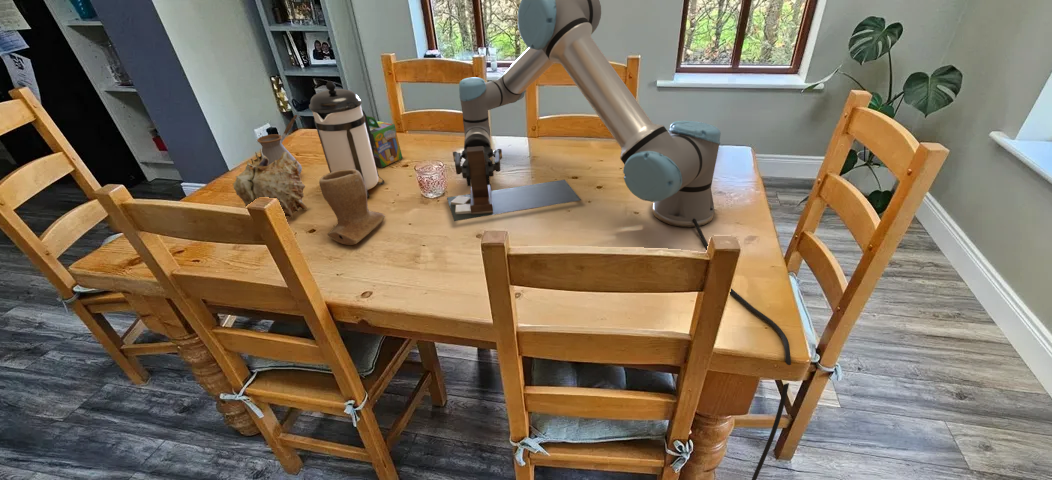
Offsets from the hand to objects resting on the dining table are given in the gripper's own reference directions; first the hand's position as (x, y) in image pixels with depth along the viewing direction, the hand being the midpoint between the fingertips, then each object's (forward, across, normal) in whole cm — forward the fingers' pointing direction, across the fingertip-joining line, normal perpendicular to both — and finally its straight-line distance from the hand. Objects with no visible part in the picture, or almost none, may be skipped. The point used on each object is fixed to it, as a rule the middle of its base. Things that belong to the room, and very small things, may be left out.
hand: (478, 180), depth 119 cm
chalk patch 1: (-7, +5, -9) cm, 13 cm away
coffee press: (-24, +35, -11) cm, 44 cm away
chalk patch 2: (-2, +5, -9) cm, 10 cm away
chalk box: (-44, +32, -11) cm, 56 cm away
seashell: (-11, +53, -11) cm, 55 cm away
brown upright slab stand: (-5, 0, -9) cm, 10 cm away
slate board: (-7, -8, -11) cm, 15 cm away
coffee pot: (-39, +58, -11) cm, 71 cm away
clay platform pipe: (+1, +32, -11) cm, 34 cm away
